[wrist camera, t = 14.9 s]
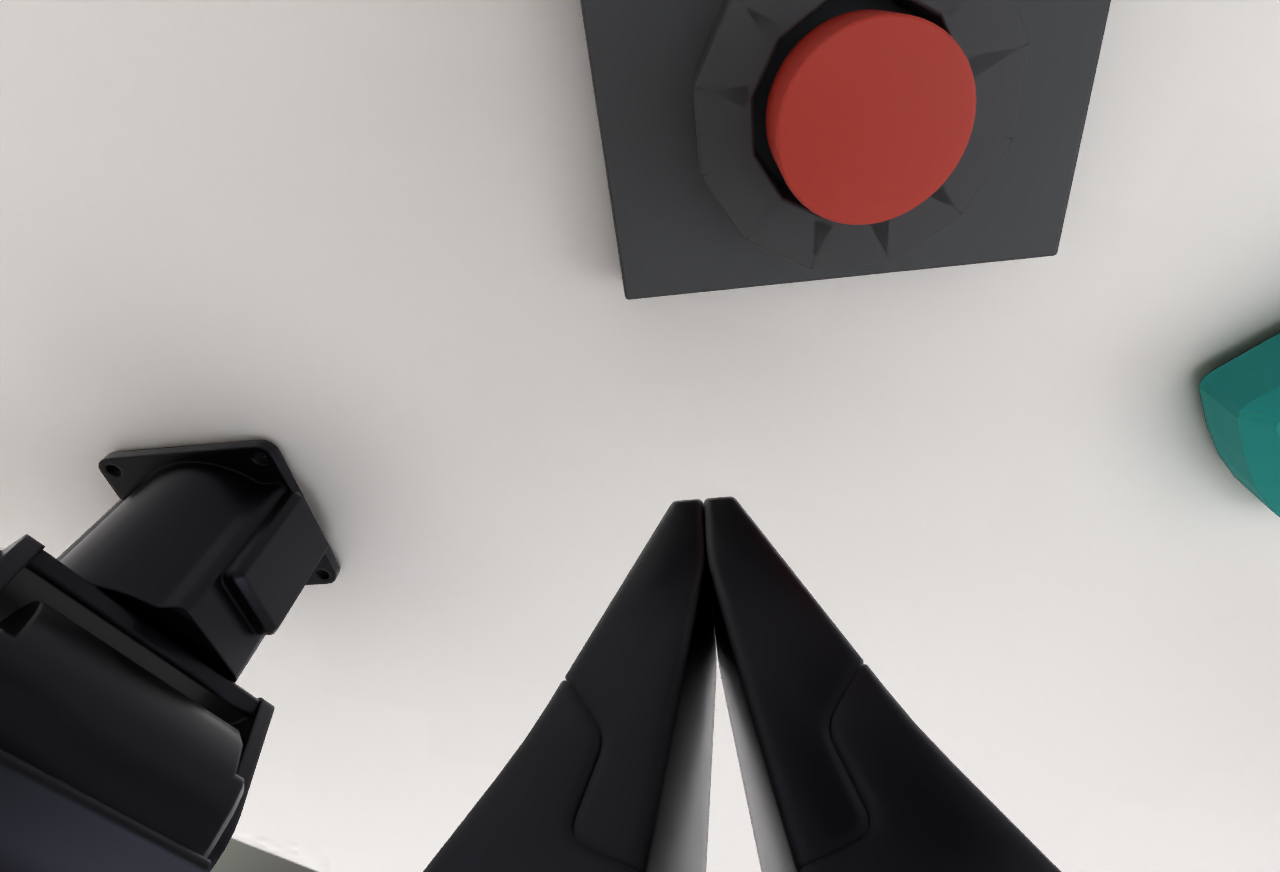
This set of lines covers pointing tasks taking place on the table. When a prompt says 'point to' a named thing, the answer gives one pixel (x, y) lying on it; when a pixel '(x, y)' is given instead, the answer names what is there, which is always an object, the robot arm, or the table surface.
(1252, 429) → the digital multimeter
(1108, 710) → the table surface
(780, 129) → the red button
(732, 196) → the control block
